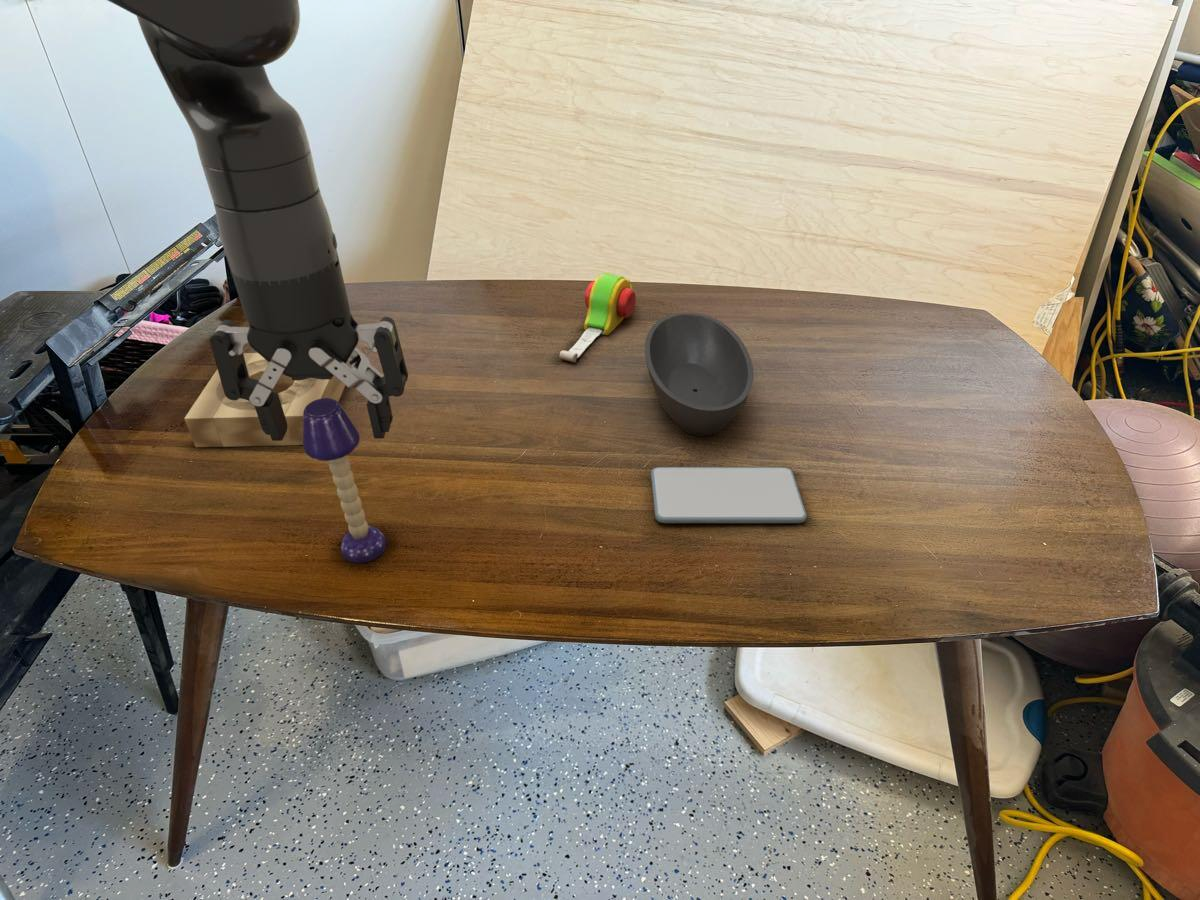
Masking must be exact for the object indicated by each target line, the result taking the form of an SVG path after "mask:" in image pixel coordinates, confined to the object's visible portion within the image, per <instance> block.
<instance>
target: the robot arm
mask: <svg viewBox="0 0 1200 900" xmlns="http://www.w3.org/2000/svg"><path fill="white" fill-rule="evenodd" d="M106 1H107V2H109V3H111V4H114V5H116V6H117V7H119V8H121V9H123V10H124V11H127V12H129V13H131V14H133V15H135V16H136V18H137V21H138V24H139V27H140V29H141V30H140V31H141V32H142V35H143V37H144V40H145V42H146V44H147V46H148V49H149V51H150V53H151V55H152V58H153V60H154V61H155V64H156V66H157V67H158V70H159V72H160V74H161V75H162V77H163V79H164V81H165V83H166V86H167V88H168V90H169V92H170V94H171V96H172V99H173V100H174V102H175V104H176V106H177V107H178V109H179V110H180V112H181V114H182V116H183V117H184V119H185V121H186V123H187V124H188V126H189V129H190V131H191V133H192V136H193V138H194V142H195V146H196V150H197V153H198V158H199V161H200V164H201V167H202V170H203V173H204V177H205V181H206V183H207V187H208V189H209V190H208V191H209V193H210V196H211V199H212V203H213V207H214V210H215V211H214V212H215V215H216V223H217V228H218V234H219V239H220V241H221V244H222V248H223V250H224V254H225V257H226V260H227V264H228V266H229V270H230V274H231V276H232V279H233V283H234V286H235V289H236V292H237V296H238V298H239V302H240V304H241V308H242V311H243V315H244V317H245V320H246V322H247V323H248V326H237V325H236V323H235V322H233V321H232V320H229V319H225V320H222V321H221V322H220V324H219V325H218V327H217V328H216V330H215V331H214V332H213V333H212V335H211V336H210V338H209V344H210V347H211V350H212V354H213V358H214V362H215V365H216V368H217V369H218V372H219V376H220V379H221V383H222V387H223V390H224V394H225V396H226V397H227V398H228V399H230V400H238V399H239V398H241V399H245V400H248V401H250V402H251V404H253V405H254V406H255V409H256V412H257V415H258V418H259V421H260V424H261V427H262V430H263V431H264V433H265V434H266V435H270V436H271V439H272V441H282V440H283V438H284V436H285V434H286V432H287V422H286V418H285V415H284V412H283V408H282V405H281V402H280V399H279V395H278V392H273V388H274V387H275V385H276V383H277V382H278V380H279V378H280V376H281V375H282V374H284V375H286V376H288V377H291V378H292V380H304V379H308V378H316V379H321V380H326V379H332V377H333V376H335V377H336V378H338V379H339V380H340V381H341V382H342V383H343V384H345V387H347V388H348V389H354V390H356V391H357V392H358V393H359V394H360V395H362V396H363V397H364V398H365V399H366V400H367V402H366V409H367V412H368V413H367V414H368V417H369V422H370V426H371V430H372V434H373V435H372V436H373V438H374V439H375V440H377V439H384V438H385V435H386V433H389V432H390V429H391V425H392V422H393V418H394V416H393V412H392V407H391V401H390V397H396V398H398V397H401V396H402V395H403V394H404V391H405V386H406V383H407V381H408V378H409V371H408V368H407V364H406V361H405V357H404V352H403V348H402V345H401V340H400V337H399V333H398V329H397V326H396V322H395V320H394V319H393V318H391V317H389V316H383V317H381V318H380V320H379V322H376V323H364V324H363V323H362V324H359V323H358V322H357V321H356V319H355V318H354V316H353V315H352V313H351V308H350V303H349V298H348V294H347V290H346V285H345V280H344V276H343V271H342V266H341V263H340V259H339V258H340V257H339V254H338V249H337V248H338V243H337V237H336V234H335V232H334V230H333V227H332V223H331V217H330V215H329V212H328V210H327V207H326V204H325V202H324V199H323V196H322V193H321V188H320V187H319V182H318V176H317V172H316V168H315V164H314V160H313V155H312V150H311V147H310V146H311V145H310V141H309V139H308V133H307V131H306V128H305V125H304V123H303V120H302V118H301V116H300V114H299V112H298V111H297V110H296V108H295V107H294V106H293V105H291V104H290V103H289V102H288V101H287V100H285V99H284V98H283V97H282V96H281V95H280V94H279V93H278V92H277V91H276V90H275V89H274V86H273V85H272V84H271V82H270V79H269V77H268V73H267V71H266V68H265V66H267V65H269V64H271V63H274V62H276V61H278V60H279V59H281V58H282V57H283V56H284V55H285V54H287V52H288V51H289V50H290V49H291V47H292V46H293V44H294V43H295V40H296V38H297V35H298V33H299V29H300V24H301V23H300V22H301V10H300V3H299V0H106ZM359 342H364V343H366V344H367V346H368V348H369V350H371V352H372V353H374V354H377V355H378V359H379V362H380V365H381V366H380V367H381V369H382V373H383V374H382V373H381V372H380V371H379V370H378V369H377V368H376V367H374V366H373V365H372V364H371V361H370V359H369V357H368V356H367V355H366V354H365V353H363V352H362V351H361V350H360V349H359V348H358V347H357V345H358V344H359ZM248 345H249V347H250V348H252V350H253V351H254V352H255V353H259V354H260V355H261V356H262V357H263V358H265V359H266V360H267V361H268V362H269V364H268V366H267V367H266V369H265V371H264V373H263V374H262V376H261V378H260V380H256V379H252V378H249V374H248V370H247V366H246V362H245V358H244V355H243V353H244V351H245V350H246V348H247V346H248ZM347 362H348V363H349V365H350V366H349V365H348V364H347ZM217 369H216V370H217Z"/></svg>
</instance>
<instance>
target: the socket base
mask: <svg viewBox="0 0 1200 900" xmlns="http://www.w3.org/2000/svg"><path fill="white" fill-rule="evenodd" d="M243 355H244V358H245V362H246V366H247V370H248V374H249V378H252V379H256V380H260V378H261V376H262V374H263V373H264V371H265V369H266V367H267V366H268V364H269V362H268V361H267V360H266V359H265V358H263V357H262V356H261V355H260V354H259V353H257V352H243ZM345 387H346V385H345V384H343V383H342V382H341V381H340V380H339V379H338V378H336V377H335V376H333V377H332V379H326V380H321V379H316V378H308V379H304V380H292V378H291V377H288V376H286V375H284V374H282V375H281V376H280V378H279V380H278V382H277V383H276V385H275V387H274V388H273V392H278V395H279V399H280V402H281V405H282V408H283V412H284V415H285V418H286V422H287V432H286V434H285V436H284V438H283V440H282V441H272V439H271V436H270V435H266V434H265V433H264V431H263V430H262V427H261V424H260V421H259V418H258V415H257V412H256V409H255V406H254V405H253V404H251V402H250V401H248V400H245V399H241V398H239V399H238V400H230V399H228V398H227V397H226V396H225V394H224V390H223V387H222V383H221V379H220V376H219V372H218V369H216V371H215V372H214V374H213V375H212V376H211V377H210V379H209V380H208V382H207V384H206V385H205V387H204V388H203V389H202V391H201V393H200V395H199V396H198V397H197V399H196V400H195V402H194V403H193V404H192V406H191V408H190V409H189V411H187V412H188V413H187V414H186V415H185V417H184V418H183V419H184V421H185V424H186V427H187V429H188V432H189V434H190V437H191V439H192V442H193V444H194V447H195V448H222V447H224V448H225V447H226V448H228V447H229V448H230V447H272V446H273V447H274V446H303V412H304V409H305V407H306V406H307V405H308V404H309V403H311V402H312V401H314V400H317V399H321V398H331V399H334V400H336V401H337V402H339V403H340V400H341V397H342V394H343V393H344V390H345Z"/></svg>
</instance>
